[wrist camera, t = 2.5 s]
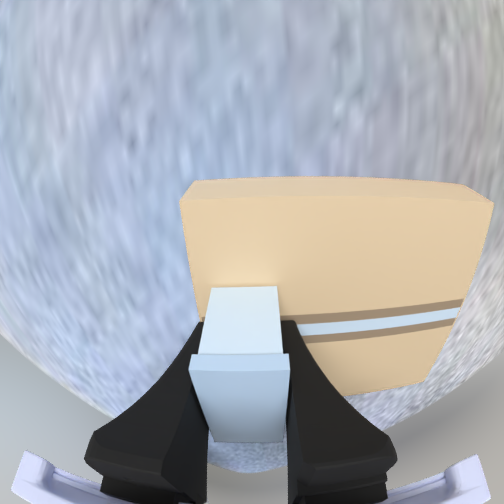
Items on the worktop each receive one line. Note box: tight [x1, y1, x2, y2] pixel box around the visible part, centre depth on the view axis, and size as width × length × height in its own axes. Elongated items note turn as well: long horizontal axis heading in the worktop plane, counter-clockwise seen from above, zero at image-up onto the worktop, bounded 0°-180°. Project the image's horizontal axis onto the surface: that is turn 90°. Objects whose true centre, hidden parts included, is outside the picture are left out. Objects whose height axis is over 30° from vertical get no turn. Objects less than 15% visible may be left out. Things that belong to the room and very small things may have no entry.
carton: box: [179, 176, 494, 396], centre depth 13 cm, size 13×12×3 cm
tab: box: [189, 286, 290, 443], centre depth 11 cm, size 3×5×4 cm, turn 2°
